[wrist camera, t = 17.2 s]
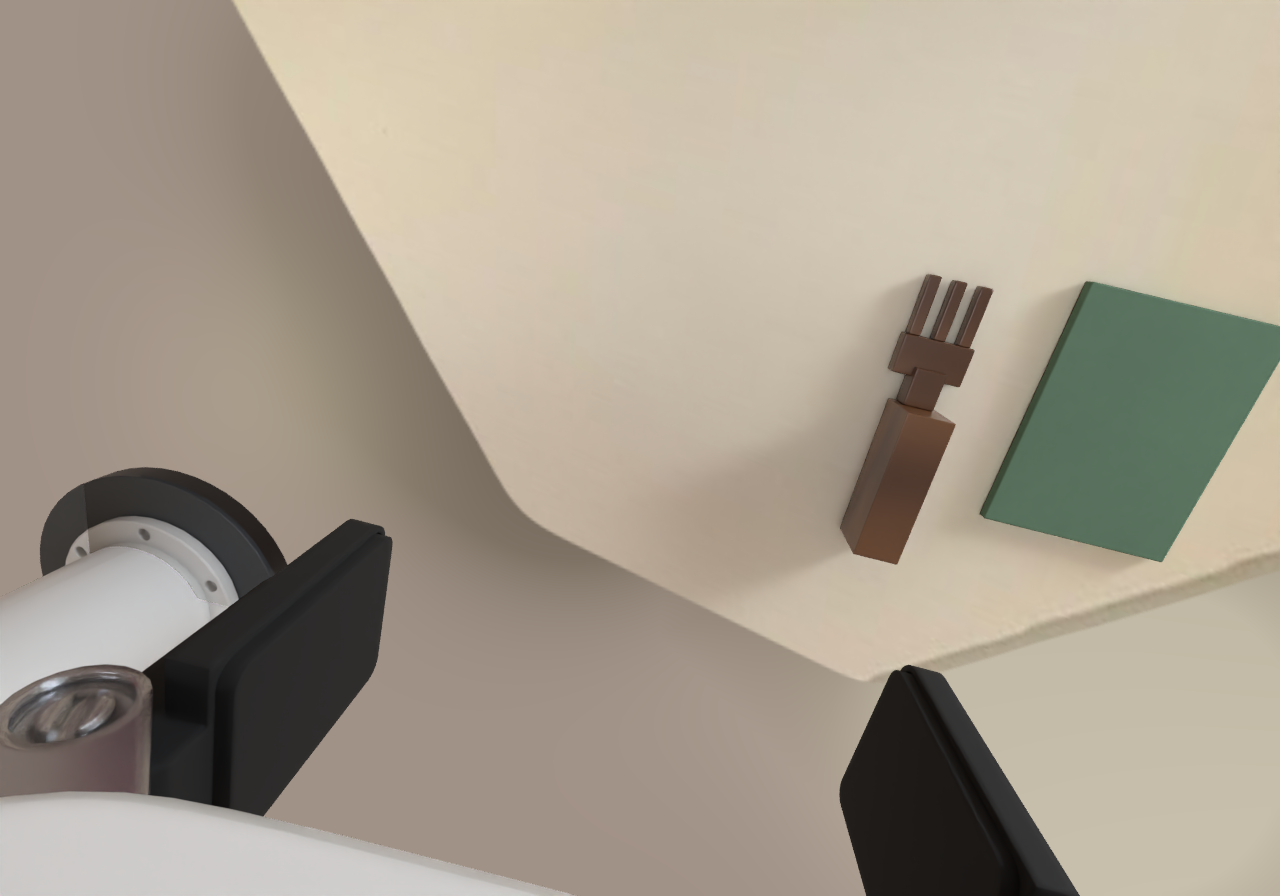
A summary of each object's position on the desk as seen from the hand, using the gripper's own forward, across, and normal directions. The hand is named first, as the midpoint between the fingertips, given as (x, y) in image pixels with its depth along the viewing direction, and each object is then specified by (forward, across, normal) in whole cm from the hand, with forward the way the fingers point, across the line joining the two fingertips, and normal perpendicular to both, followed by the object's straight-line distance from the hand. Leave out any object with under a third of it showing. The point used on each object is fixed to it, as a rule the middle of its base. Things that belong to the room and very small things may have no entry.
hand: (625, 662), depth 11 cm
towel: (+23, -24, -4) cm, 33 cm away
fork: (+23, -13, -1) cm, 27 cm away
